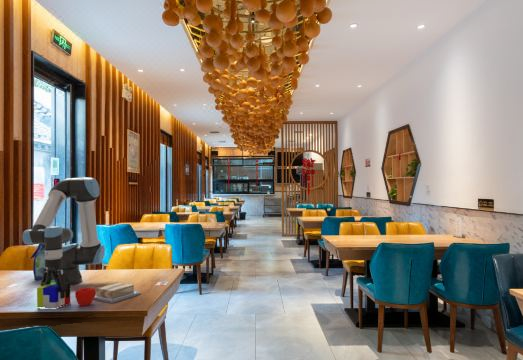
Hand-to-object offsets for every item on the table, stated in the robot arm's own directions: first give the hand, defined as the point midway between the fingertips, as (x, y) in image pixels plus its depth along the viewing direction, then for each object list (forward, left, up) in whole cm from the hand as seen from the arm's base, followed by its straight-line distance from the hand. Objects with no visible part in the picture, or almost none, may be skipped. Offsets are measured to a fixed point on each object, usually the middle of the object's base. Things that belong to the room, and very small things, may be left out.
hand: (54, 303), depth 182 cm
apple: (+12, +8, -2) cm, 15 cm away
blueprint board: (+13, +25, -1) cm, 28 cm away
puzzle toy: (0, 0, -2) cm, 2 cm away
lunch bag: (-70, +36, -2) cm, 79 cm away
